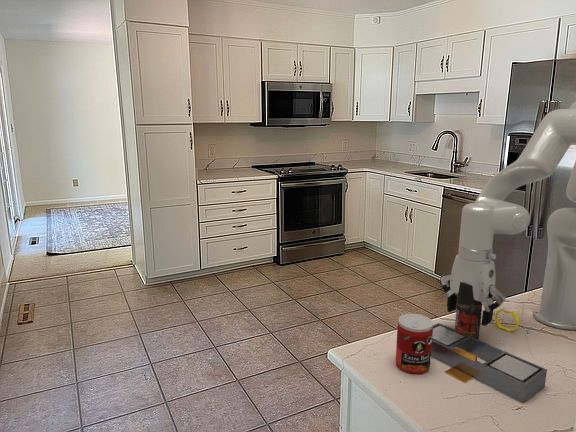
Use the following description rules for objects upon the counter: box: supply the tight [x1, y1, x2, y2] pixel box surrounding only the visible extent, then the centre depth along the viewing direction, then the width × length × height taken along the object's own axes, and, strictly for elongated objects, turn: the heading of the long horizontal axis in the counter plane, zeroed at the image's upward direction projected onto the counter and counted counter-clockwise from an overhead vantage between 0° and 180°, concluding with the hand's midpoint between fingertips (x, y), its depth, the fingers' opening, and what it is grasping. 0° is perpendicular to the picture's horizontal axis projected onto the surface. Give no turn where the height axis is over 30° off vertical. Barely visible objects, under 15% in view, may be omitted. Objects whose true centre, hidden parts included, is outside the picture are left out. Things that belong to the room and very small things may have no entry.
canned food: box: [395, 313, 434, 375], centre depth 100 cm, size 8×8×11 cm
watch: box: [493, 306, 520, 332], centre depth 117 cm, size 6×3×6 cm, turn 39°
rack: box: [431, 322, 548, 404], centre depth 99 cm, size 12×26×5 cm, turn 36°
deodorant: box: [454, 282, 483, 340], centre depth 113 cm, size 6×6×15 cm
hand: (468, 317), depth 113 cm, fingers open, 9 cm apart
